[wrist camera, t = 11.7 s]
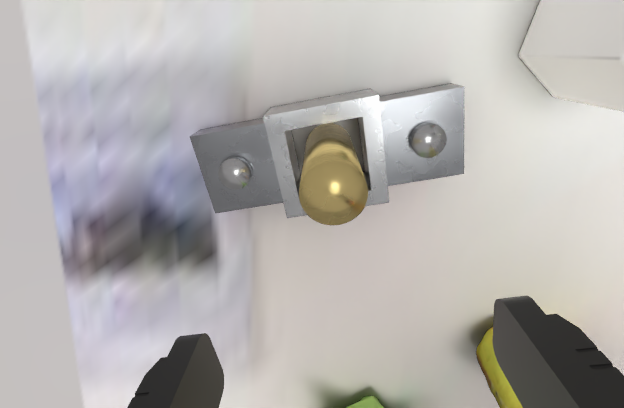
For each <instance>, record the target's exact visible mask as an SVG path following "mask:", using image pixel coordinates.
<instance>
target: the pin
mask: <svg viewBox="0 0 624 408" xmlns="http://www.w3.org/2000/svg"><path fill="white" fill-rule="evenodd" d="M367 199H368V187H367V183H366V180H365V177H364V175H363V172H362V169H361V166H360V163H359V160H358V157H357V154H356V152H355V149H354V146H353V143H352V140H351V137H350V135H349V134H348V132H347V131H346V130H345V129H344V128H343V127H341V126H339V125H336V124H331V123H328V124H322V125H320V126H318V127H316V128H315V129H314V130H312V132H311V133H310V134H309V136H308V138H307V141H306V147H305V154H304V160H303V167H302V174H301V181H300V187H299V200H300V204H301V206H302V208H303V210H304V211H305V213H306V214H307V215H308V216H309V217H310V218H312V219H313V220H315V221H317V222H319V223H322V224H326V225H340V224H344V223H347V222H349V221H351V220H353V219H354V218H356V217H357V216H358V215H359V214H360V213H361V212H362V210H363V209H364V207H365V205H366V202H367Z"/></svg>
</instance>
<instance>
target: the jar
mask: <svg viewBox="0 0 624 408" xmlns="http://www.w3.org/2000/svg"><path fill="white" fill-rule="evenodd" d="M519 58H520V59H521V60H522V61H523V62H524V63H525V65H526V66H527V67H528V68H529V69H530V70H531V72H532V73H533V74H534V75H535V76H536V77H537V79H538V80H539V81H540V82H541V83H542V84H543V86H544V87H545V88H546V89H547V90H548V91H549V93H550V94H551V95H552V96H553V97H554V98H558V99H563V100H568V101H573V102H578V103H583V104H588V105H592V106H597V107H602V108H607V109H612V110H617V111H622V112H624V0H540V3H539V5H538V7H537V10H536V12H535V15H534V17H533V20H532V22H531V25H530V27H529V30H528V32H527V35H526V37H525V40H524V42H523V45H522V47H521V50H520V52H519Z"/></svg>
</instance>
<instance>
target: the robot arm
mask: <svg viewBox="0 0 624 408" xmlns="http://www.w3.org/2000/svg"><path fill="white" fill-rule="evenodd" d="M492 342H493V349H494V353H495V356H496V359H497V362H498V364H499V366H500V368H501V370H502V371H503V373H504V375H505V377H506V378H507V380H508V382H509V384H510V386H511V387H512V389H513V391H514V393H515V394H516V396H517V398H518V400H519V401H520V403H521V405H522V407H523V408H624V376H623V374H622V373H621V372H620V371H619V370H618V369H617V368H616V367H615V368H614V367H613V366H612V363H611V362H610V361H609V359H608V358H607V357H606V356H605V355H604V354H603V353H602V352H601V351H598V349H597V347H596V345H595V344H594V343H593V342H592V341H591V340H590V339H589V338H588V337H587V336H586V335H585V334H584V333H583V331H582V330H581V329H580V328H578V327H577V326H575V325H573V324H572V323H570V322H569V321H567V320H565V319H564V318H562V317H561V316H559V315H557V314H551V315H546V314H545V313H544V312H543V311H542V310H541V309H540V307H539V306H538V305H537V304H536V303H535V301H534V300H533V299H532V298H530V297H529V296H520V297H511V298H503V299H497V300H496V301H495V304H494V320H493V339H492ZM223 389H224V374H223V369H222V367H221V364H220V362H219V359H218V357H217V355H216V352H215V350H214V347H213V345H212V342H211V340H210V338H209V336H208V335H207V334H206V333H204V334H195V335H187V336H180V337H178V338H177V339H176V341H175V343H174V345H173V347H172V349H171V351H170V353H169V355H168V357H165V358H160V359H159V361H158V362H157V363H156V364H155V365H154V366H153V367H152V368H151V369H150V370H149V371H148V372H147V374H146V375H145V376H144V378H143V380H142V382H141V384H140V385H139V387H138V389H137V391H136V393H135V397H134V398H132V400H131V402H130V404H129V406H128V408H219V404H220V401H221V397H222V394H223Z"/></svg>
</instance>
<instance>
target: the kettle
mask: <svg viewBox="0 0 624 408" xmlns="http://www.w3.org/2000/svg"><path fill="white" fill-rule="evenodd" d="M345 408H384V407H383V406H382V405H381V404H380V403H379V400H378V398H376V397H374V396H366V397H363V398H362V399H361V401H359V402H357V403H355V404H352V405H350V406H348V407H345Z"/></svg>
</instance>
